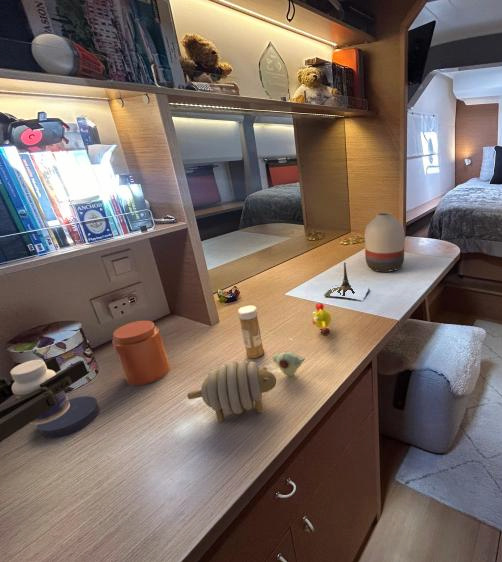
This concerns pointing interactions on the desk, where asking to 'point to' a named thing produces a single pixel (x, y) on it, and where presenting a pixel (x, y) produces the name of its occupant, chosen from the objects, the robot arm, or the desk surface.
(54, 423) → the jar lid
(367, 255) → the vase
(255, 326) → the sprinkles bottle
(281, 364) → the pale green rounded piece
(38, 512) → the desk surface
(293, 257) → the desk surface
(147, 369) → the jar
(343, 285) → the eiffel tower figurine
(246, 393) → the toy sheep
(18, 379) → the pill bottle
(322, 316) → the toy figure
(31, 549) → the desk surface
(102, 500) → the desk surface
